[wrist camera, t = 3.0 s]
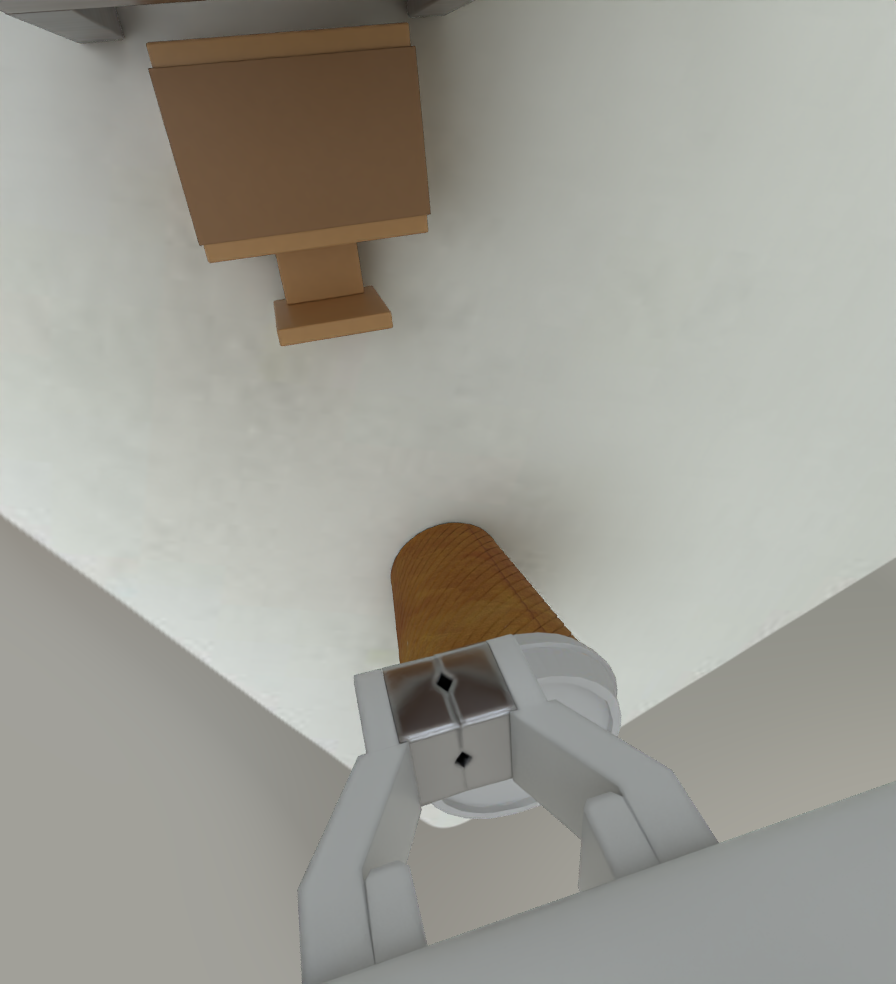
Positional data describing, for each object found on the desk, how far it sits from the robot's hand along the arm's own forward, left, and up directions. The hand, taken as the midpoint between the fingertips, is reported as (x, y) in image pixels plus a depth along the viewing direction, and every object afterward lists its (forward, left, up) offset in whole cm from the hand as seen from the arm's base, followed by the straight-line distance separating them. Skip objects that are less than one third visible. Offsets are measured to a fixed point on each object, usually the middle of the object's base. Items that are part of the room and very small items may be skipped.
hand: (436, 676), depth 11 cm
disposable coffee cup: (+13, +4, -19) cm, 23 cm away
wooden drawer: (-6, 0, -18) cm, 19 cm away
